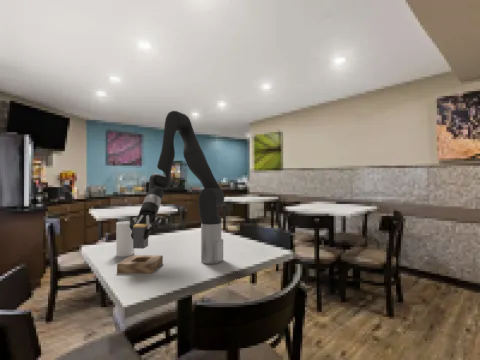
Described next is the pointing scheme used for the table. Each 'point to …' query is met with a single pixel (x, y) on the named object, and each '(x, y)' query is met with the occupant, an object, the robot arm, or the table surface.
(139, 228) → the block
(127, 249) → the cup
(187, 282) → the table surface
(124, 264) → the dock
